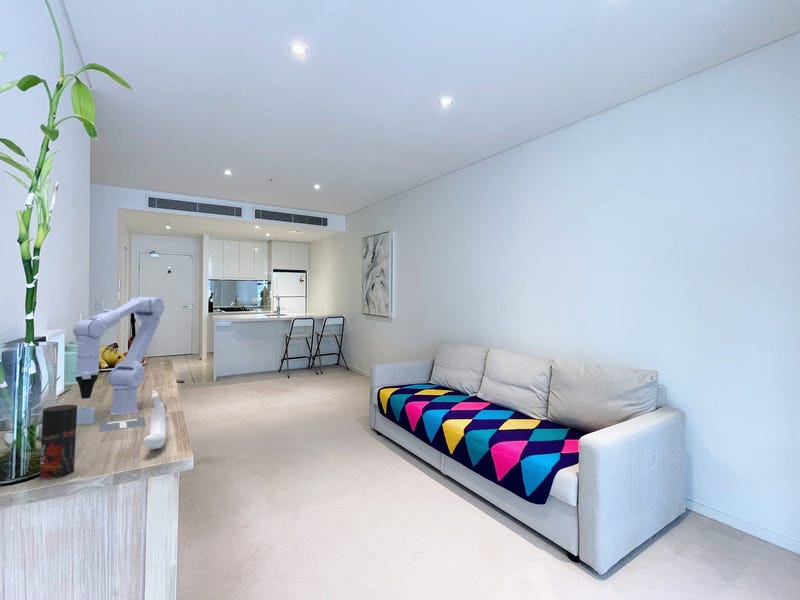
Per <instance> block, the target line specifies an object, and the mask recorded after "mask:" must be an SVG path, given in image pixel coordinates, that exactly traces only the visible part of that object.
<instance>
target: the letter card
mask: <svg viewBox="0 0 800 600" xmlns="http://www.w3.org/2000/svg"><path fill="white" fill-rule="evenodd" d="M138 427H139V428H140V427H147V423H146V420H145V417H144V416H141V417H133V418H125V419H117V420H116V419H115V420H110V421H108V420H107V421H102V422H99V427H98V429H99V430H98V431H99V432H100V433H101V432H102V433H103V432H108V431H115V430H117V431H118V430H124V429H130V428H138Z"/></svg>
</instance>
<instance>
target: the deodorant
mask: <svg viewBox="0 0 800 600" xmlns="http://www.w3.org/2000/svg"><path fill="white" fill-rule="evenodd" d="M77 408H78V405H76V404H62V405H61V404H60V405H53V406H48V407H45V408H43V409H42V419H41V421H42V424H41V441H40V443H41V444H40V456H39V457H40V459H39V475H40V477H41V478H47V479H46V480H51V479H50V478H54V479H58V478H62V477H65V476H68V475H70V474H73V473H74V472H75V460H76V459H75V457H76V439H77V438H76V437H77V425H76V421H77ZM40 477H39V478H40ZM41 478H40V479H41ZM48 478H49V479H48Z"/></svg>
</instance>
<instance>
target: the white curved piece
mask: <svg viewBox="0 0 800 600" xmlns="http://www.w3.org/2000/svg"><path fill="white" fill-rule="evenodd" d="M151 392H152V394H151V399H153V402H154V408H153V407H152V411H151V415H150V421H149V434H148V436H146V437H144V438H143V440H142V442H143V446H144V447H145V448H147V449H150V450H158V449H161V448H162V447H164V445H165V443H166V442H167V441H166V440H167V411H165V407H164V405H163V402H162V401H161V400H160V396H159V393H158V392H157V391H156V390H155V389H152V390H151Z"/></svg>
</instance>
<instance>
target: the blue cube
mask: <svg viewBox="0 0 800 600" xmlns="http://www.w3.org/2000/svg"><path fill="white" fill-rule="evenodd" d="M95 410H96V406H88V407H85V406H84V407H77V421H76V426H81V425H89V424H90V425H91V424H95Z"/></svg>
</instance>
